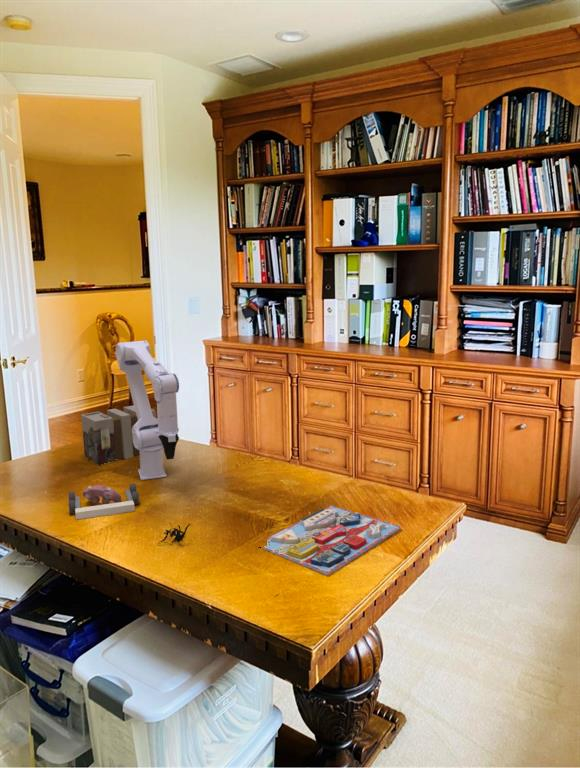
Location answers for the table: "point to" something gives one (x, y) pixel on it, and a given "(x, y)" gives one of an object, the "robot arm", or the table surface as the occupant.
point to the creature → (173, 533)
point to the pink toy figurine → (101, 494)
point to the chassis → (106, 508)
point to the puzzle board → (330, 539)
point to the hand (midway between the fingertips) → (169, 458)
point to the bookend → (109, 434)
